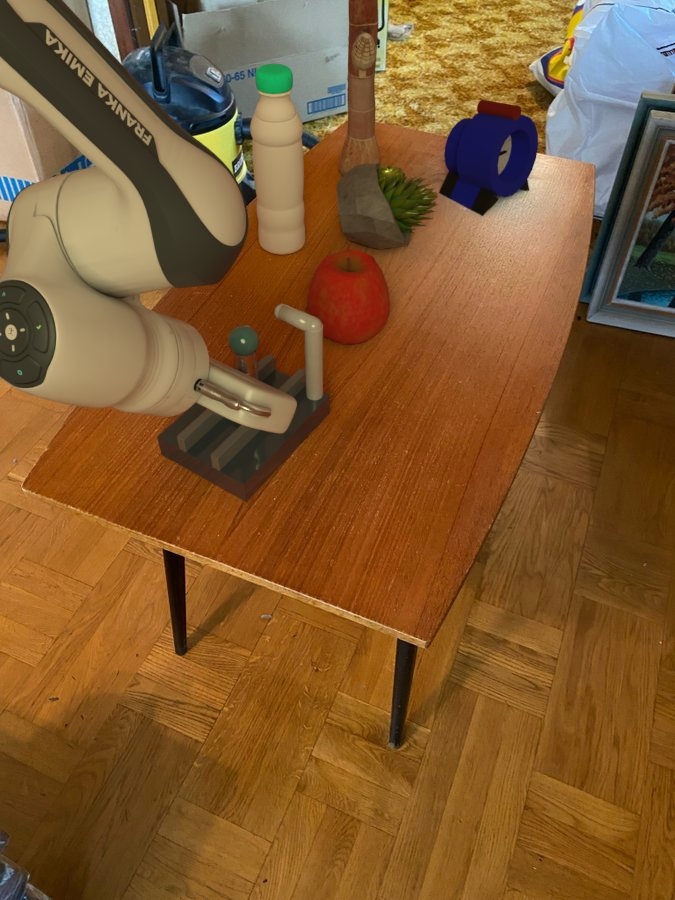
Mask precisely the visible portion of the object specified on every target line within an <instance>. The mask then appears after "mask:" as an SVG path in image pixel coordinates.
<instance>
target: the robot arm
mask: <svg viewBox="0 0 675 900" xmlns="http://www.w3.org/2000/svg"><path fill="white" fill-rule="evenodd" d="M0 89H2V90H4V91H5V92H8V93H9V94H11V95H13V96H15V97H16V98H18V99H20V100H21V101H23V102H24V103H25V104H27V105H28V106H29V107H31V108H32V109H33V110H34V111H35V112H36V113H37V114H38V115H39V116H41V118H43V119H44V120H45V121H46V122H47V123H48V124H49V125H50V126H51V127H52V128H54V129H55V130H56V131H57V132H58V133H59V134H60V135H61V136H62V137H63V138H64V139H65V140H66V141H68V142H69V143H70V144H71V145H72V146H73V147H74V148H76V149H77V150H78V151H79V152H80V153H81V154H82V155H83V156H84V157H85V158H86V159H87V160H88V161H89V162H91V164H93V165H94V166H90V167H87V168H80V169H76V170H72V171H69V172H66V173H62V174H59V175H54V176H52V177H49V178H46V179H42V180H39V181H37V182H34V183H31V184H28V185H26V186H24V187H23V188H22V189H20V191H18V193H17V194H16V195H15V196H14V198H13V200H12V202H11V204H10V207H9V210H8V214H7V217H6V223H5V255H6V261H5V265H4V268H3V270H2V272H1V274H0V379H1V380H3V382H4V383H6V384H8V385H9V386H11V388H14V389H16V390H18V391H20V392H22V393H24V394H27V395H29V396H33V397H36V398H39V399H42V400H46V401H49V402H55V403H58V404H62V405H63V404H64V405H69V406H73V407H82V408H89V409H105V408H109V407H110V408H112V409H114V410H116V411H119V412H122V413H129V414H137V415H145V416H154V417H161V418H162V417H163V418H168V417H175V416H178V415H181V414H183V413H184V412H186V411H187V410H188V409H189V408H190V407H191V406H192V405H193V404H195V403H198V404H200V405H202V406H204V407H206V408H208V409H210V410H212V411H214V412H216V413H218V414H219V415H221V416H223V417H225V418H227V419H229V420H232V421H234V422H236V423H239V424H241V425H244V426H247V427H251V428H254V429H259V430H263V431H268V432H273V433H279V434H280V433H284V432H285V431H286V430H287V428H288V427H289V425H290V423H291V420H292V418H293V416H294V413H295V410H296V407H297V401H296V400H295V399H294V398H293V397H292V396H290V395H288V394H286V393H284V392H282V391H280V390H278V389H276V388H274V387H272V386H270V385H267V384H265V383H263V382H261V381H259V380H257V379H255V378H253V377H251V376H249V375H246V374H244V373H242V372H240V371H238V370H236V369H234V368H235V367H232V366H230V365H227V364H225V363H224V362H221V361H220V360H217V359H215V358H213V357H211V356H209V355H210V354H209V350H208V347H207V344H206V342H205V340H204V338H203V337H202V334H201V333H200V332H199V331H198V330H197V329H196V328H195V326H193V325H191V324H190V323H188V322H187V321H184V320H183V319H179V318H176V317H173V316H170V315H167V314H164V313H161V312H158V311H156V310H152V309H149V308H148V307H146V306H144V304H143V303H142V300H141V294H146V293H147V294H148V293H152V292H156V291H162V290H166V289H172V288H175V289H183V288H184V289H185V288H192V287H193V288H194V287H203V286H213V285H217V284H218V283H220V282H221V281H222V280H223V279H224V278H225V277H226V276H227V274H228V273H229V272H230V271H231V269H232V267H233V266H234V265H235V263H236V261H237V259H238V258H239V256H240V254H241V253H242V251H243V248H244V246H245V243H246V241H247V237H248V234H249V213H248V207H247V203H246V202H247V201H246V199H245V196H244V193H243V191H242V189H241V186H240V184H239V182H238V180H237V179H236V177H235V175H234V173H233V172H232V171H231V170H230V168H229V167H228V165H226V163H225V162H224V161H223V160H222V159H221V158H220V157H219V156H217V155H216V153H214V152H213V151H212V150H211V149H210V148H209V147H208V146H206V145H204V143H202V142H201V141H200V140H198V138H197V139H196V137H195V136H193V135H192V134H190V133H189V132H188V131H187V130H185V129H184V128H183V127H182V126H181V125H180V124H178V123H177V122H176V121H175V120H174V119H173V118H172V117H171V116H170V115H169V114H168V113H167V112H166V111H165V110H164V108H163V107H162V106H161V105H160V104H159V103H158V102H157V101H156V100H155V99H154V98H153V96H151V94H149V92H148V91H147V90H146V89H145V88H144V87H143V86H142V85H141V83H139V82H138V80H137V79H136V78H135V77H134V76H133V75H132V74H131V73H130V71H128V69H126V67H125V66H124V65H123V64H122V63H121V62H120V61H119V60H118V59H117V58H116V56H115V55H114V54H113V53H112V52H111V51H110V50H109V49H108V48H107V46H105V44H104V43H103V42H102V41H101V40H100V39H99V38H98V37H97V35H95V33H93V31H91V30H90V28H89V27H88V26H87V25H86V24H85V23H84V22H83V21H82V19H80V18H79V16H78V15H77V14H76V13H75V12H74V11H73V10H72V8H70V7H69V6H68V4H67V3H66V2H65V1H64V0H0Z"/></svg>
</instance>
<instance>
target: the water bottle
mask: <svg viewBox="0 0 675 900" xmlns="http://www.w3.org/2000/svg"><path fill="white" fill-rule="evenodd" d="M293 75H294V74H293V71H292V69H291V68H290V67H289V66H287V65H284V64H280V63H267V64H263V65H260V66H259V67H257V69H256V71H255V75H254V79H255V87H256V90H257V91H256V92H257V93H258V94H259V100H258V102H257V104H256V106H255V111H254V113H253V115H252V118H251V120H250V124H249V132H250V136H251V137H252V143H251V146H252V150H251V151H252V152H251V153H252V170H253V181H254V190H255V197H256V218H257V221H258V223H257V225H258V226H257V236H258V238H257V239H258V244H259V246H260V247H261V248H262V249H263V250H264V251H266V252H268V253H270V254H273V255H278V256H282V255H284V256H285V255H290V254H294V253H296V252H299V250H301V249H302V248H303V247H304V245H305V243H306V225H305V214H306V211H305V209H306V207H305V201H304V191H305V190H304V187H305V165H304V163H305V162H304V148H303V147H304V146H303V138H302V137H303V133H304V125H303V121H302V119H301V116H300V114H299V113H298V111H297V108H296V104H295V103H294V102H293V101H292V99H291V94H292V92H293V86H294V76H293Z"/></svg>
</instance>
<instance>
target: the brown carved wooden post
mask: <svg viewBox="0 0 675 900" xmlns="http://www.w3.org/2000/svg"><path fill="white" fill-rule="evenodd" d="M378 34H379V0H348V47H347V77H346V80H347V96H346V97H347V131H346V132H347V133H346V136H345V139H344V143H343V144H342V147H341V151H340V156H339V164H338V171H339V174H340V175H341V178H342V177H343V176H344V175H345V174H346V173H347V172H349V171H350V170H351V169H352V168H354V167H355V166H357V165H361V164H364V163H368V164H377V163H379V166H382V161H381V152H380V148H379V147H380V146H379V143H378V140H377V139H378V138H377V136H376V107H377V106H376V94H375V92H376V91H375V77H376V66H377V54H378Z"/></svg>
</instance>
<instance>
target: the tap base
mask: <svg viewBox="0 0 675 900" xmlns="http://www.w3.org/2000/svg"><path fill="white" fill-rule="evenodd" d="M273 314H274V317H275V318H276V319H277V320H278V321H280V322H282V323H285V324H287V325H290V326H292V327H294V328H296V329H298V330H300V331H303V335H304V336H303V337H304V342H303V343H304V369H303V368H300V367H299V369H297V371H296V372H294V373H293V374H292V375H291V376H290V375H289V374H286V373H284V372H282V371H281V370H278V369H276V359H275V358H276V357H275V356H274V355H272V354H269V353H266V355H265V356H264V357H262V358H261V359H260V361H259V360H257V362H258V373H259V381H261V382H263V383H265V384H267V385H270V386H272V387H274V388H276V389H278V390H280V391H282V392H284V393H286V394H288V395H290V396H292V397H293V398H294V399H295V400H296V401H297V407H296V410H295V413H294V416H293V418H292V420H291V423H290V425H289V427H288V428H287V430H286V431H285V432H284V433H280V434H279V433H273V432H268V431H263V430H259V429H254V428H251V427H247V426H244V425H241V424H239V423H236V422H234V421H232V420H229V419H227V418H225V417H223V416H221V415H219V414H218V413H216V412H214V411H212V410H210V409H208V408H206V407H204V406H202V405H200V404H198V403H196V402H195V403H194V404H193V405H192V406H191V407H190V408H189V409H187V410H186V411H184V412H182V413H181V414H180V416H178V417H177V418H176V419H175V420H174V421H173V422H172V423H170V424H169V426H167V427H166V428H165V429H164V430H163V431H161V432H160V433H159V434H158V435H157V436H156V439H157V443H158V447H159V450H160V454H161V456H163V457H165V458H167V459H169V460H170V461H172V462H174V463H176V464H177V465H179V466H181V467H183V468H185V469H186V470H188V471H190V472H191V473H193V474H195V475H197V476H199V477H201V478H202V479H204V480H206V481H208V482H210V483H211V484H213V485H215V486H217V487H218V488H221V489H222V490H224V491H226V492H227V493H229V494H231V495H233V496H235V497H236V498H238V499H239V500H241V501H243V502H245V503H247V502H248V501H250V499H251V498H252V497H253V496H254V495H255V494H256V493H257V492H258V490H259V489H260V488H261V487H262V486H264V484H265V483H266V482H267V481H268V480H269V479H270V478H271V477H272V476H273V474H274V473H275V472H277V470H278V469H279V468H280V467H281V466H282V465H283V464H284V463H285V461H287V460H288V458H289V457H290V456H291V455H292V454H293V453H294V452H295V451H296V450H297V449H298V448H299V447H300V446H301V445H302V443H303V442H305V440H306V439H307V438H309V436H310V435H311V434H312V433H313V432H314V431H315V429H316V428H318V427H319V425H320V424H321V423H322V422H323V421H324V420H325V419H326V418H327V417H328V416H329V415H330V413H331V394H329V393H327V392H325V391H324V335H323V324H322V322H321V321H320V319H319V318H317V317H314V316H312V315H310V314H309V313H307V312H305V311H303V310H300V309H298V308H296V307H293V306H291V305H289V304H286V303H280V304H277V305H276V307H275V308H274V311H273ZM233 368H234V369H235V367H233Z"/></svg>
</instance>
